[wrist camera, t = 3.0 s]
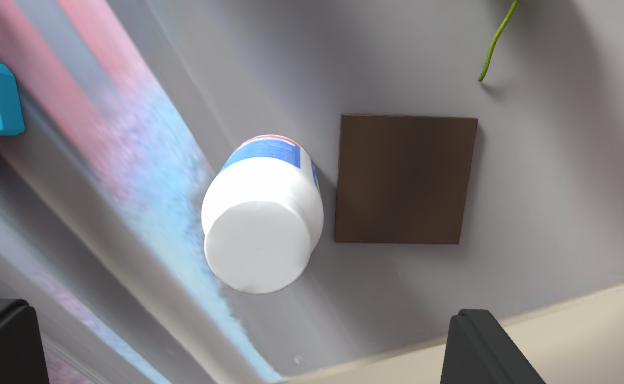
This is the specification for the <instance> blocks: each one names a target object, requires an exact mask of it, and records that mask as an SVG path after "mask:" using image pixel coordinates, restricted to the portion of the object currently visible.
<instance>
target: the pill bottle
mask: <svg viewBox="0 0 624 384" xmlns="http://www.w3.org/2000/svg"><path fill="white" fill-rule="evenodd" d="M323 223H324V213H323V205H322V200H321V195H320V190H319V185H318V181H317V176H316V172H315V168H314V165H313V163H312V161H311V159H310V157H309V155H308V154H307V153H306V151H305V150H304V149H303V148H302V147H301V146H300V145H298V144H297V143H296V142H294V141H292V140H290V139H288V138H285V137H282V136H278V135H263V136H258V137H255V138H252V139H250V140H248V141H246V142H245V143H243V144H242V145H241V146H239V147H238V148H237V149H236V150H235V151H234V153H233V154H232V155H231V157H230V158H229V160H228V161H227V163H226V164H225V165H224V167H223V168H222V170H221V171H220V172H219V174H218V175H217V177H216V178H215V180H214V181H213V183H212V184H211V186H210V188H209V189H208V192H207V194H206V196H205V198H204V202H203V206H202V226H203V230H204V233H205V242H204V248H205V255H206V259H207V262H208V264H209V266H210V268H211V269H212V271H213V272H214V274H215V275H216V276H217V277H218V278H219V279H220V280H221V281H222V282H223V283H225V284H226V285H228V286H229V287H231V288H233V289H235V290H237V291H240V292H243V293H248V294H257V295H262V294H270V293H274V292H277V291H280V290H282V289H284V288H286V287H288V286H289V285H291V284H292V283H294V282H295V281H296V280H297V279H298V278H299V277H300V276H301V274H302V273H303V272H304V270H305V268H306V266H307V264H308V262H309V259H310V255H311V252H312V251H313V250H314V248H315V247H316V245H317V243H318V241H319V239H320V236H321V233H322V230H323Z"/></svg>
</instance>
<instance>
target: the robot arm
mask: <svg viewBox="0 0 624 384" xmlns="http://www.w3.org/2000/svg"><path fill="white" fill-rule="evenodd" d="M0 384H50V383H49V378H48V372H47V367H46V362H45V357H44V352H43V346H42V341H41V336H40V331H39V326H38V320H37V315H36V311H35V309H34V308H33V307H31V306H29V303H28V302H27V301H26V300H23V299H0ZM440 384H546V383H545V382H544V381H543V379H542V378H541V377H540V376H539V374H538V373H537V372H536V370H535V369H534V368H533V367H532V365H531V364H530V363H529V362H528V360H527V359H526V358H525V356H524V355H523V354H522V352H521V351H520V350H519V349H518V347H517V346H516V345H515V343H514V342H513V341H512V340H511V338H510V337H509V336H508V334H507V333H506V332H505V331H504V329H503V328H502V327H501V325H500V324H499V323H498V322H497V320H496V319H495V318H494V316H493V315H492V314H491V313H490V312H489V311H488V310H483V309H461V310H460V311H459V313H458V315H454V316H452V317H451V320H450V325H449V331H448V338H447V344H446V350H445V356H444V363H443V369H442V375H441V381H440Z"/></svg>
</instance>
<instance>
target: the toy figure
mask: <svg viewBox="0 0 624 384" xmlns="http://www.w3.org/2000/svg"><path fill="white" fill-rule="evenodd" d="M24 130H25V127H24V122H23V116H22V111H21V106H20V101H19V95H18V90H17V85H16V80H15V76H14V75H13V74H12V73H11V71H10V70H9V69H8V68H7V67H6V65H3V64H0V135H7V136H9V135H17V134H19V133H21V132H23V131H24Z"/></svg>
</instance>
